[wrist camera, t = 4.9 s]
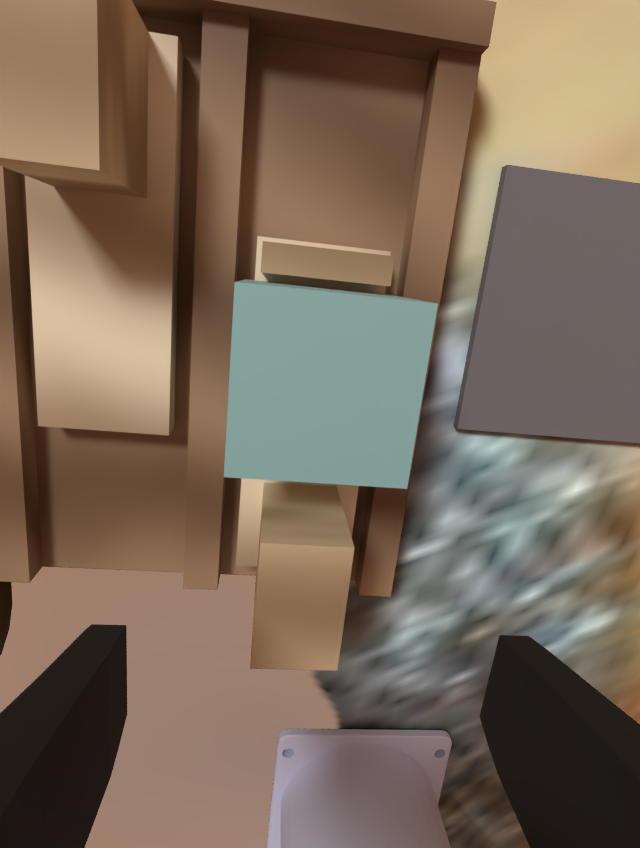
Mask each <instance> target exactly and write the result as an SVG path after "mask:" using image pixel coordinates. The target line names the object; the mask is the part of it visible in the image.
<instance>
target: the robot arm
mask: <svg viewBox="0 0 640 848" xmlns="http://www.w3.org/2000/svg"><path fill="white" fill-rule="evenodd" d="M126 659H127V655H126V626H125V625H91V626H89V627H88V628H87V629H86V630H85V631H84V632H83V633H82V634H81V635H80V636H79V637H78V638H77V639H76V640H75V641H74V642H73V643H72V644H71V645H70V646H69V647H68V648H67V649H66V650H65V651H64V652H63V653H62V654H61V655H60V656H59V657H58V658H57V659H56V660H55V661H54V662H53V663H52V664H51V665H50V666H49V667H48V668H47V669H46V670H45V671H44V672H43V673H42V674H41V675H40V676H39V677H38V678H37V679H36V680H35V681H34V682H33V683H32V684H31V685H30V686H29V687H28V688H26V689H25V690H24V691H23V692H22V693H21V694H20V695H19V696H18V697H17V698H16V699H15V700H14V701H13V702H12V703H11V704H10V705H9V706H7V707H6V709H4V710H3V711H2V712H1V713H0V848H84V847H85V844H86V842H87V839H88V836H89V834H90V831H91V828H92V825H93V823H94V820H95V818H96V815H97V812H98V809H99V807H100V804H101V801H102V798H103V796H104V793H105V790H106V788H107V785H108V782H109V779H110V777H111V773H112V770H113V766H114V762H115V758H116V755H117V751H118V747H119V744H120V740H121V736H122V732H123V728H124V724H125V720H126V716H127V660H126ZM480 719H481V722H482V726H483V729H484V732H485V736H486V739H487V742H488V745H489V749H490V752H491V755H492V758H493V761H494V764H495V767H496V770H497V773H498V775H499V777H500V780H501V782H502V784H503V787H504V789H505V791H506V794H507V796H508V798H509V800H510V803H511V805H512V807H513V809H514V812H515V814H516V816H517V819H518V821H519V823H520V825H521V828H522V830H523V832H524V834H525V836H526V839H527V841H528V843H529V845H530V848H640V724H638V723H637V722H636V721H635V720H633V719H632V718H631V717H630V716H628V715H627V714H626V713H625V712H623V711H622V710H621V709H620V708H618V707H617V706H616V705H615V704H613V703H612V702H611V701H610V700H608V699H607V698H606V697H605V696H603V695H602V694H601V693H600V692H598V691H597V690H596V689H595V688H594V687H592V686H591V685H590V684H589V683H587V682H586V681H585V680H584V679H582V678H581V677H580V676H579V675H578V674H576V673H575V672H574V671H573V670H571V669H570V668H569V667H568V666H567V665H565V664H564V663H563V662H562V661H560V660H559V659H558V658H557V657H555V656H554V655H553V654H552V653H550V652H549V651H548V650H547V649H545V648H544V647H543V646H541V645H540V644H539V643H537V642H536V641H535V640H533V639H532V638H531V637H529V636H507V635H500V636H499V640H498V644H497V648H496V652H495V656H494V660H493V664H492V668H491V672H490V677H489V681H488V685H487V689H486V693H485V697H484V701H483V705H482V709H481V713H480ZM451 746H452V741H451V738H450V735H449V734H448V732H446V731H443V730H374V729H285V730H283V731H282V732H281V733H280V734H279V736H278V741H277V750H276V759H275V769H274V778H273V788H272V798H271V807H270V817H269V827H268V836H267V847H266V848H451V847H450V844H449V840H448V837H447V834H446V830H445V827H444V824H443V821H442V817H441V814H440V811H439V808H438V802H439V798H440V794H441V789H442V785H443V781H444V776H445V772H446V767H447V763H448V759H449V754H450V750H451ZM286 749H289V750H286Z"/></svg>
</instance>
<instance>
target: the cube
mask: <svg viewBox="0 0 640 848" xmlns="http://www.w3.org/2000/svg"><path fill="white" fill-rule="evenodd" d="M437 307H438V304H437V303H432V302H426V301H421V300H416V299H411V298H405V297H400V296H395V295H387V294H378V293H368V292H359V291H350V290H341V289H331V288H322V287H313V286H304V285H294V284H285V283H276V282H266V281H257V280H248V279H245V280H241V281H237V282H235V284H234V302H233V319H232V337H231V355H230V373H229V391H228V409H227V427H226V445H225V463H224V477H230V478H245V479H261V480H277V481H292V482H308V483H324V484H339V485H355V486H371V487H386V488H402V489H407V487H408V481H409V475H410V469H411V463H412V457H413V451H414V445H415V439H416V433H417V427H418V421H419V415H420V409H421V403H422V397H423V391H424V385H425V379H426V373H427V367H428V361H429V355H430V349H431V343H432V337H433V331H434V325H435V319H436V313H437Z"/></svg>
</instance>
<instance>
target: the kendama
mask: <svg viewBox="0 0 640 848" xmlns="http://www.w3.org/2000/svg"><path fill="white" fill-rule="evenodd" d="M11 609H12V591H11V582H3V581H0V655H1V653H2V650H3V647H4V643H5V640H6V637H7V634H8V631H9V625H10V617H11Z"/></svg>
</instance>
